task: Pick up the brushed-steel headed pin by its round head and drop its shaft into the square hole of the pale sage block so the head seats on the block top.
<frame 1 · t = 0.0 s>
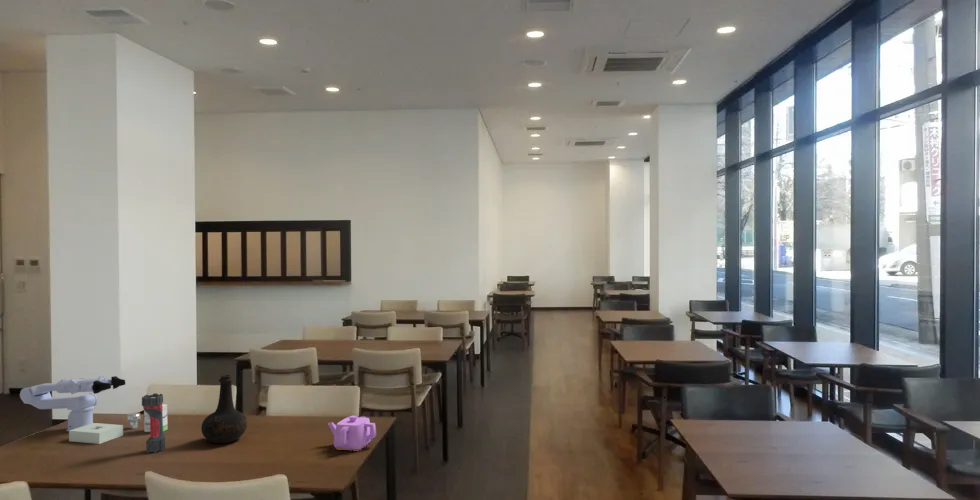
hand: (117, 384, 269), 22 cm above the table, tool horizontal, fingers open, 7 cm apart
steel pin: (134, 428, 275), on the table
ink box: (155, 431, 271), on the table
flashlight: (153, 452, 243), on the table
teakettle: (352, 445, 249), on the table
glass bottle: (224, 440, 256), on the table
pin block: (96, 438, 260), on the table
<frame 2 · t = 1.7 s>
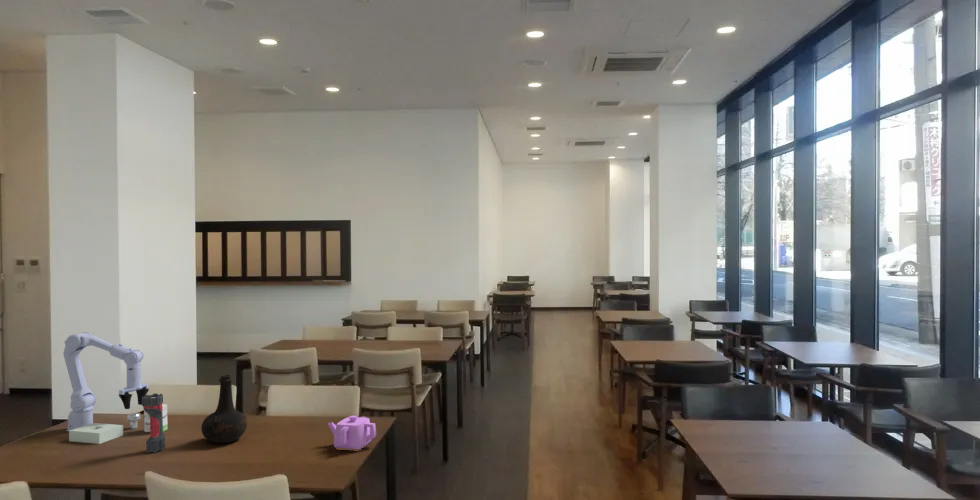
hand: (134, 406, 275), 10 cm above the table, tool pointing down, fingers open, 7 cm apart
nothing on the table moved.
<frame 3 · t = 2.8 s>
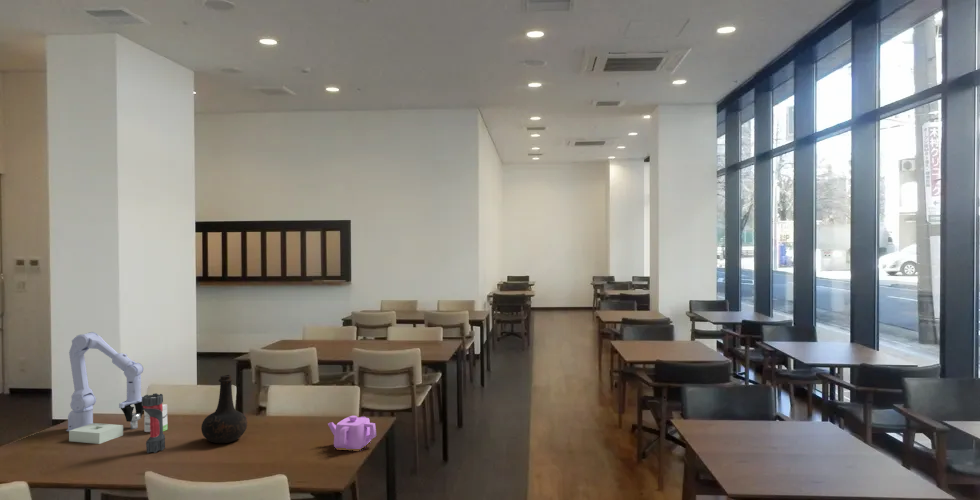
hand: (134, 419, 275), 4 cm above the table, tool pointing down, fingers closed on steel pin, 5 cm apart
steel pin: (134, 428, 275), on the table, touching gripper
everything else where it was.
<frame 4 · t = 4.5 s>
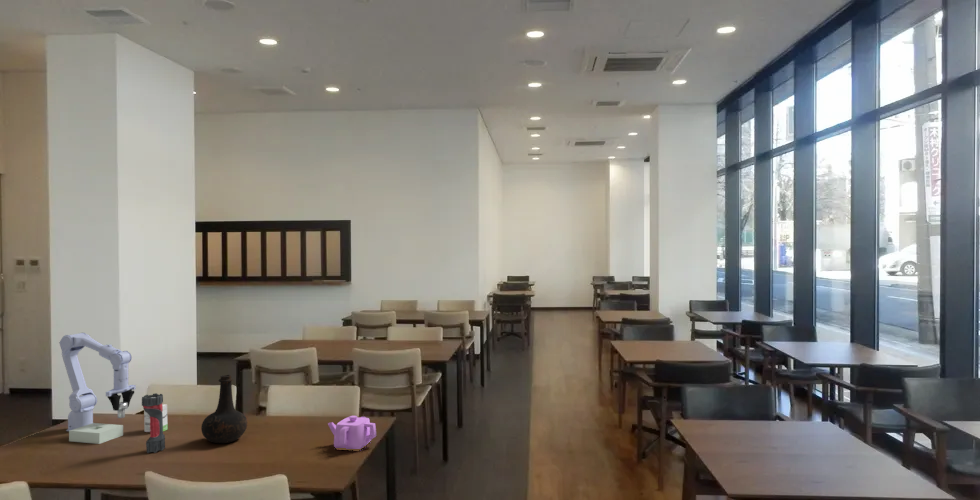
hand: (121, 408, 270), 10 cm above the table, tool pointing down, fingers closed on steel pin, 5 cm apart
steel pin: (121, 417, 270), point 6 cm above the table, touching gripper
everything else where it was.
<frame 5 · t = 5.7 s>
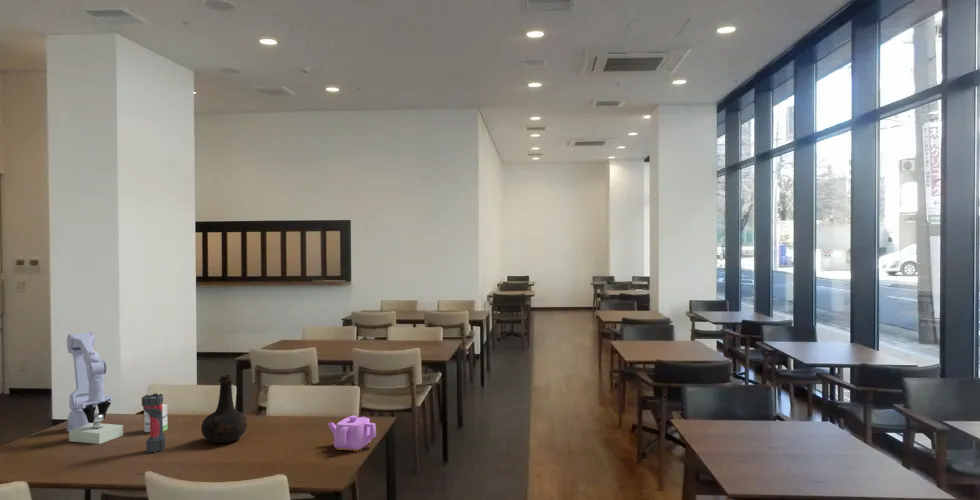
hand: (96, 420, 260), 8 cm above the table, tool pointing down, fingers closed on steel pin, 5 cm apart
steel pin: (96, 429, 260), point 4 cm above the table, touching gripper
everything else where it was.
when the fingers open (5 cm above the table, at t = 6.6 s): steel pin stays where it is, resting on pin block.
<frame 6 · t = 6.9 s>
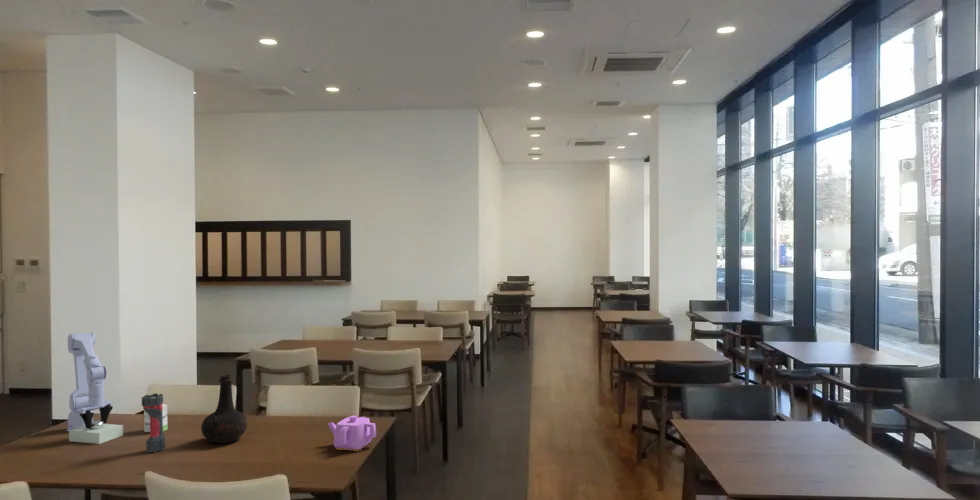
hand: (96, 425, 260), 5 cm above the table, tool pointing down, fingers open, 7 cm apart
steel pin: (96, 437, 260), resting on pin block
everything else where it was.
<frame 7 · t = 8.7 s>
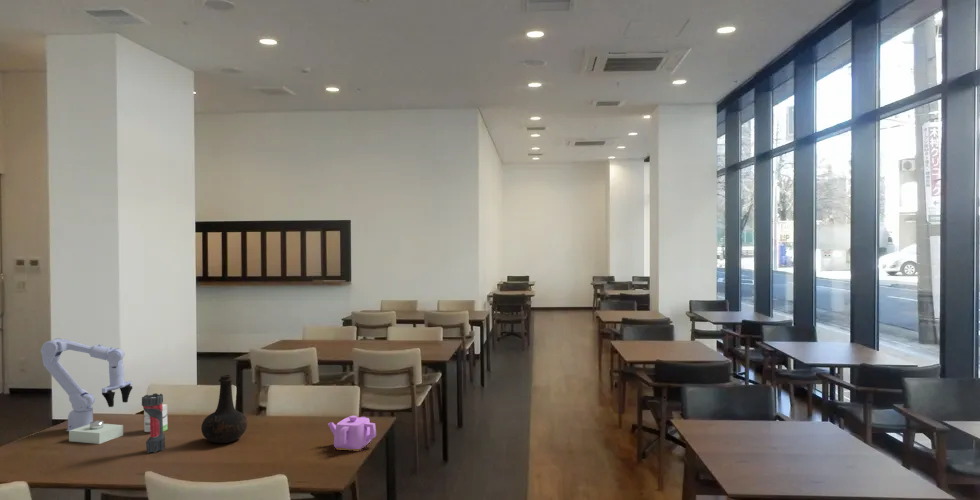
hand: (118, 404, 277), 10 cm above the table, tool pointing down, fingers open, 7 cm apart
nothing on the table moved.
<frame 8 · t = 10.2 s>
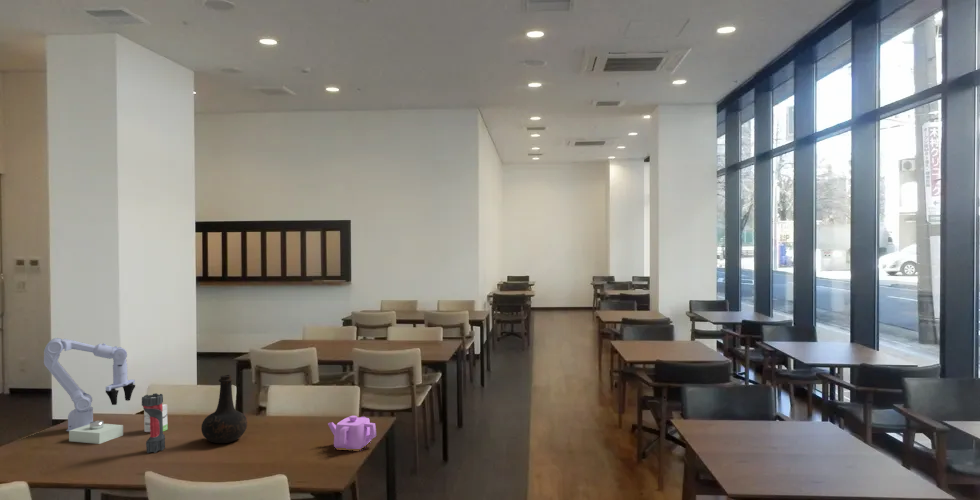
hand: (121, 402, 281), 10 cm above the table, tool pointing down, fingers open, 7 cm apart
nothing on the table moved.
at the end: steel pin 0.1 cm off-centre on the pin block, point 0.5 cm above the pin block's base; steel pin tilted 0°; the gripper is holding nothing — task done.
